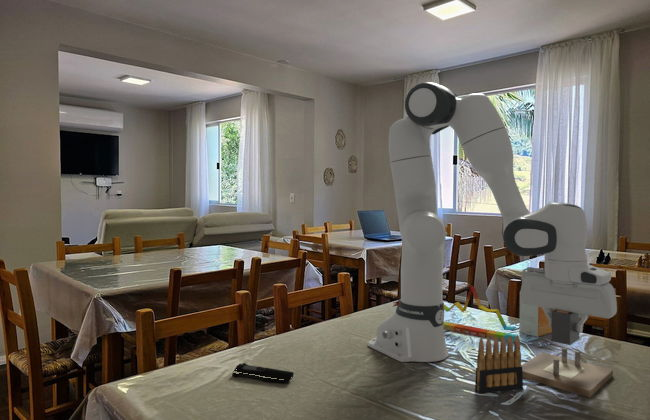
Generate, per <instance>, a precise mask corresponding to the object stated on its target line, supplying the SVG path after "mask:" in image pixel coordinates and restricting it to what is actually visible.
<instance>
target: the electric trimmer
mask: <svg viewBox="0 0 650 420" xmlns="http://www.w3.org/2000/svg"><path fill="white" fill-rule="evenodd" d="M236 369H237V370H236ZM234 371H237V372H242V373H239V374H236V373H233V372H234ZM233 372H232V377H233V378H237V377H244V378H251V379H252V378H253V379H258V380H262V381H263V382H273V383H274V382H275V383H289V382H290V381H291V380H292V379H293V377H294V374H295V373H294V371H287V370H283V369H282V370H281V369H277V368H270V367H262V366H255V365H250V364H247V363H246V362H245V363H244V362H243V363H239V364H237V365H236V367H235V368H234V370H233ZM243 373H248V374H243ZM249 374H255V375H260V376H265V377H271V378H277V379H271V378H263V377H259V376H255V375H249ZM291 377H292V378H291ZM279 379H284V380H279Z"/></svg>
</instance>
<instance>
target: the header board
mask: <svg viewBox="0 0 650 420" xmlns="http://www.w3.org/2000/svg"><path fill="white" fill-rule="evenodd" d="M581 352H582V351H579V350H575V351H574V359H572V358H568V348H566V347H561V356H558V355H555V354H551V353H547V352H541V353H538V354H537V355H536V356H534V357H531V359H529V360H528V361H526V362H524V363H522V364H521V366H522V371H523V379H526V380H530V381H533V382H537V383H538V384H539V383H540V384H543V385H545V386H550V387H553V388H556V389H559V390H562V391H566V392H569V393H571V394H572V393H573V394H576V395H579V396H582V397H586V398H589V399H591V397H593V396H594V395H595V394H596V393H597V392H598V391H599V390H600V389H601V388H602V387H603V386H604V385H606V383H607V382H608V381H610V379H612V378H613V376H614V369H610V368H606V367H603V366H598V365H596V364H595V365H594V364H591V363H587V362H583V361H581V358H582V357H581V355H582V354H581Z"/></svg>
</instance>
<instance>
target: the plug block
mask: <svg viewBox="0 0 650 420" xmlns="http://www.w3.org/2000/svg"><path fill="white" fill-rule="evenodd" d="M579 321H580V318H579V313H573V312H567V311H561V310H555V309H553V311H552V333H551V342H554V343H558V344H563V345H567V346H572V345H573V344H574V343H575V342H577V341H579V340H580V333H579V332H574V331H573V329H574V327H573V324H575V323H579Z"/></svg>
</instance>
